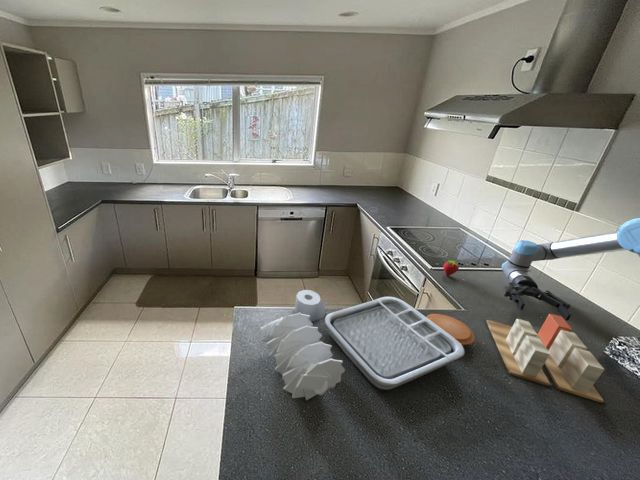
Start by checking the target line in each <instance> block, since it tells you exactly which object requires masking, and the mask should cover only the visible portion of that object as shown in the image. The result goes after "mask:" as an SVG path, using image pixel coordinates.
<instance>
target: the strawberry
mask: <svg viewBox="0 0 640 480" xmlns="http://www.w3.org/2000/svg"><path fill="white" fill-rule="evenodd" d="M458 270H459V265H458V263H457V262H456V260H455V259H454V260H450V259H448V260H446V262H444V263H443V271H444V273H445V275H446V276H447V277H450V276H452V275H453V274H455V273H457V271H458Z"/></svg>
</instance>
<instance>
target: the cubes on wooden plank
mask: <svg viewBox="0 0 640 480" xmlns="http://www.w3.org/2000/svg"><path fill="white" fill-rule="evenodd" d="M536 333H537V334H538V333H539V332H536ZM536 338H539V336H538V335H537V337H536ZM540 340H541V339H540ZM542 343H543V342H542ZM546 349H547V351H548V352H549V354H550V355H549V357H548V358H547V360H546V362H545V363H544V365H543V367H544V368H545V369H546V372H547V373H548V375H549V377H550V378H551V380H552V382H553V383H554V385H555V387H556V388H557V390H560V391H562V392H565V393H569V394H572V395H575V396H578V397H582V398H585V399H587V400H592V401H593V402H594V401H595V402H597V403H602V404H603V403H604V401H605V400H604V399H603V397H602V396H601V395H600V393H599V392H598V390H597V389H596V388H595V386H594V385H595V384H596V382H597V381H598V379H599V378H600V376H601V375H602V374H603V373H604V371H605V368H604V367H603V366H602V365H601V363H600V362H599V361H598V359H597V358H596V357H595V356H594V355H593V353H592V352H591V351H589V350H587V349H588V347H587V346H586V345H585V344H584V342H582V340H581V339H580V337H579V336H578V335H577V333H576V332H572V331H571V332H568V331H564V330H561V331H560V332H559V334H558V336H557V337H556V339H555V341H554V342H553V344H552V346H551V347H550V349H549V348H546Z"/></svg>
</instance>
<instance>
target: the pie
mask: <svg viewBox="0 0 640 480" xmlns="http://www.w3.org/2000/svg"><path fill="white" fill-rule="evenodd" d="M425 317H426V318H428V319H429V320H431V321H432V322H433V323H435V324H436V325H437V326H439V327H440V328H441V329H443V330H444V331H446V332H447V333H448V334H450V335H451V336H452V337H453V338H455V339H456V340H457V341H458V342H459V343H461V345H462V346H463V347H464V346H468V345H472V343H474V341H475V338H476V337H475V333H474V332H473V330H472V329H471V328H470V327H469V326H468V325H466V324H465V323H464V322H463V321H461V320H458V319H457V318H455V317H452V316H450V315H447V314H442V313H441V314H440V313H430V314H428V315H427V316H425Z"/></svg>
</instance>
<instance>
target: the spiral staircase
mask: <svg viewBox="0 0 640 480" xmlns="http://www.w3.org/2000/svg"><path fill="white" fill-rule="evenodd" d="M309 317H310V315H305V314H301V313H300V312H299V313H296V314H295V313H293V314H290V315H288V314H287V315H285V316H284V317H282V316H280V317H279V318H277V319H275V320H272V321H271V322H269V323H266V324H265V325H263V326H261V327H260V331H261V334H262V338H261V341H262V342H264V343H265V344H266V345H267V348H268V349H269V354H268V356H269V357H271V358H272V359H275V364H276V366H275V367H274V370H275V371H277V372H278V373H280V375H282V376H281V379H282V380H283V382H284V385H285V386H283V387H282V388H283V390H284V391H286V392H288V393H290V394H292V395H291V398H292V399H297V398H305V401H308V400H309V399H311V398H314V397H315V396H317V395H319V396H323V395H324V394H325V392H327V390H328V389H329V388H335V387H336V385H337V384H339V383H341V381H342V374H343V373H345V371H346V369H345V368H344V367H343V365H342V364H343V363H344V362H343V360H341V359H333V358H332V357H333V356H334V354H333V353H332V351H331V348H332V345H331V344H327V343H325V342H324V341H321V340H320V339H322V337H323V334H322V333H321V332H320V331H319V327H318V326H314V323H313V322H311V321H310V320H309Z"/></svg>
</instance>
